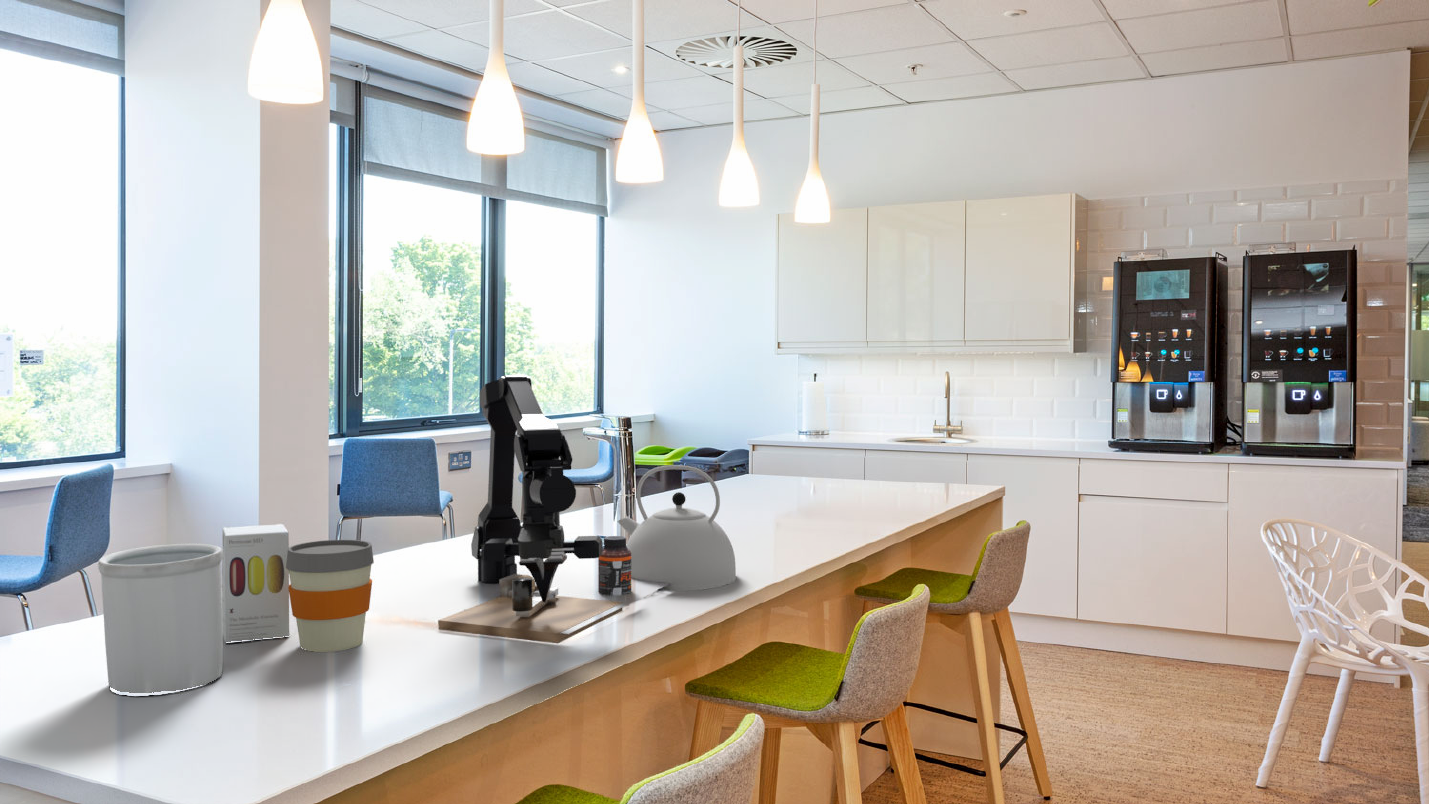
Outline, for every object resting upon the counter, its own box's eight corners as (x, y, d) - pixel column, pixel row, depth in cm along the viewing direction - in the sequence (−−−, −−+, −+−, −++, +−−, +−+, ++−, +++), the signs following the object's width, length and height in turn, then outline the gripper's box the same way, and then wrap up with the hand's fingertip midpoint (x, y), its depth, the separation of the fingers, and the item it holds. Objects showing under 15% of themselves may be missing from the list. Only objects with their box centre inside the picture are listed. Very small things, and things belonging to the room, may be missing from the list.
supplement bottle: (626, 604, 186) (625, 540, 186) (594, 602, 187) (593, 539, 187) (635, 596, 192) (635, 535, 191) (604, 595, 193) (603, 534, 193)
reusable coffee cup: (286, 638, 164) (284, 542, 163) (371, 629, 169) (369, 537, 168) (288, 659, 152) (286, 556, 151) (378, 650, 157) (377, 550, 156)
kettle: (590, 584, 203) (589, 468, 202) (643, 562, 224) (642, 457, 223) (709, 595, 193) (709, 473, 192) (752, 572, 214) (752, 462, 213)
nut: (510, 596, 185) (510, 576, 185) (521, 592, 189) (521, 572, 189) (528, 598, 184) (528, 577, 184) (539, 593, 188) (539, 573, 187)
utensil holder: (94, 705, 132) (90, 567, 131) (109, 672, 146) (106, 547, 145) (223, 690, 138) (220, 558, 137) (226, 660, 152) (223, 540, 151)
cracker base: (437, 629, 169) (437, 601, 169) (516, 598, 191) (516, 573, 191) (558, 643, 161) (558, 614, 161) (626, 608, 183) (626, 583, 182)
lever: (541, 595, 185) (541, 560, 185) (563, 595, 185) (563, 560, 184) (507, 619, 168) (506, 581, 168) (531, 620, 167) (530, 582, 167)
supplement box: (224, 645, 160) (221, 535, 159) (221, 631, 168) (219, 526, 167) (291, 637, 164) (289, 530, 163) (285, 624, 172) (284, 522, 171)
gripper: (470, 513, 160) (474, 615, 161) (592, 510, 160) (596, 611, 161) (487, 504, 171) (491, 599, 172) (601, 501, 171) (604, 596, 172)
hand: (544, 601), depth 169 cm, fingers closed
